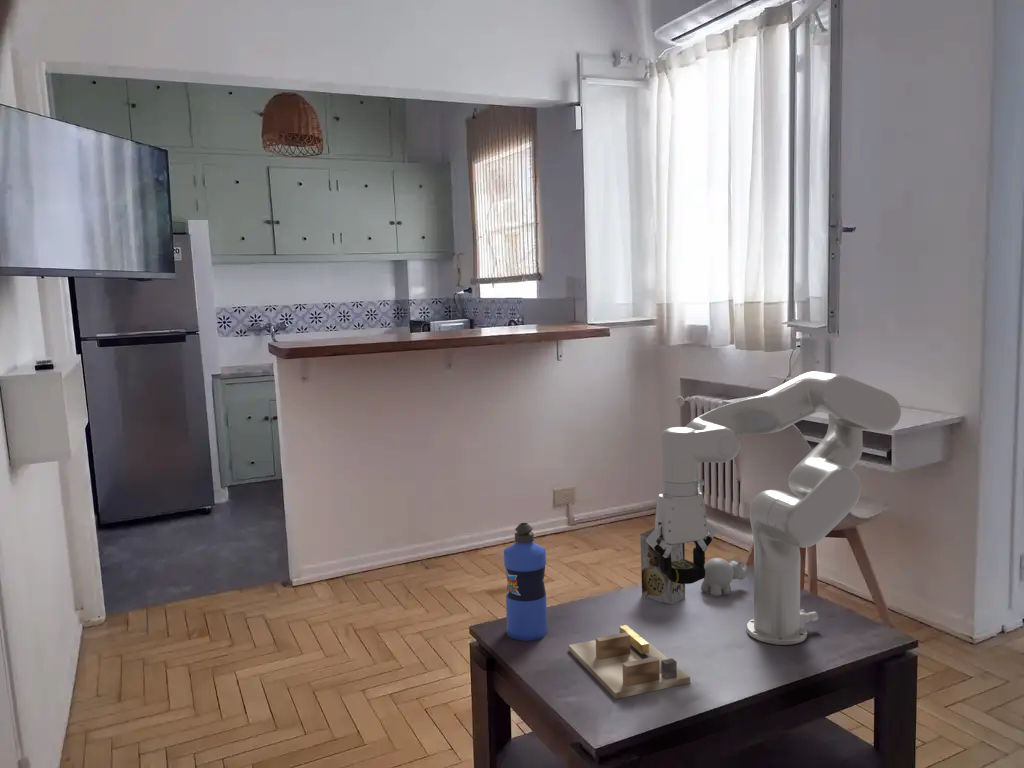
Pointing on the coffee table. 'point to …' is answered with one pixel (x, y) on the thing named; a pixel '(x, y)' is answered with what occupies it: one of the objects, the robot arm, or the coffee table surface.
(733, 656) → the coffee table surface
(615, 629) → the coffee table surface
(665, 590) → the coffee box
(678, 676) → the dock
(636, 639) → the yellow bar
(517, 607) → the water bottle
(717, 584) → the white animal figurine
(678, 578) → the tape measure
